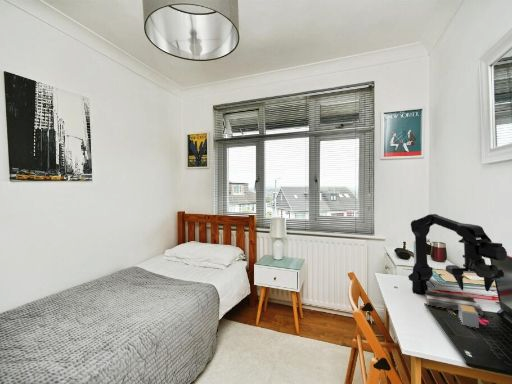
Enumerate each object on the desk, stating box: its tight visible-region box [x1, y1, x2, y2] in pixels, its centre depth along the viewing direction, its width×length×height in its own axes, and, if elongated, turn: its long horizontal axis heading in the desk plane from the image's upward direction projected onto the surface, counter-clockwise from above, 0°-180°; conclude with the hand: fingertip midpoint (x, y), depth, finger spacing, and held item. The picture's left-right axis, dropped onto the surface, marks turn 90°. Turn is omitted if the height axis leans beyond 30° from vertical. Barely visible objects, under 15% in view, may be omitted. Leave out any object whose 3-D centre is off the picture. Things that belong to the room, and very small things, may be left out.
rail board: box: [424, 289, 484, 316], centre depth 115 cm, size 20×13×3 cm, turn 60°
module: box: [458, 304, 480, 329], centre depth 99 cm, size 5×7×6 cm
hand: (474, 290), depth 103 cm, fingers open, 9 cm apart
